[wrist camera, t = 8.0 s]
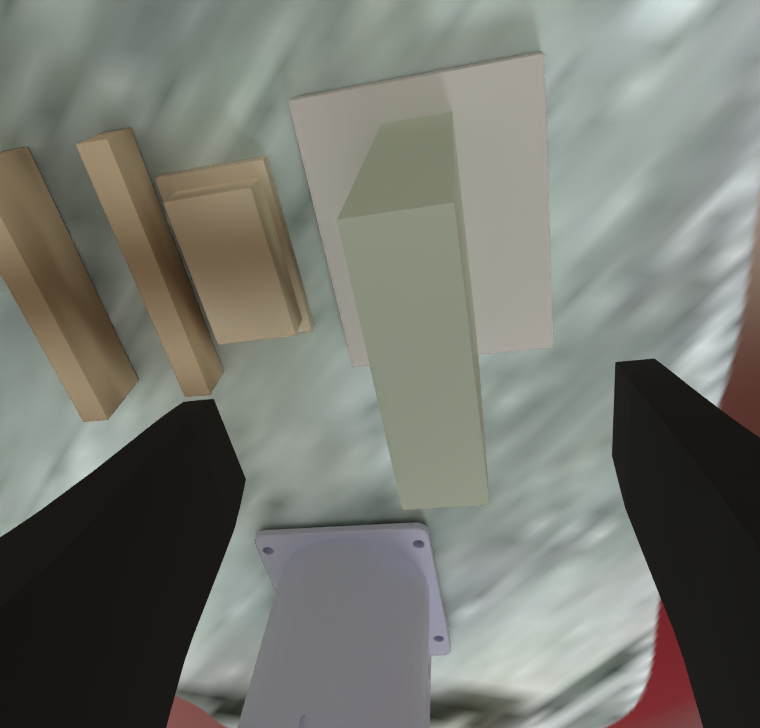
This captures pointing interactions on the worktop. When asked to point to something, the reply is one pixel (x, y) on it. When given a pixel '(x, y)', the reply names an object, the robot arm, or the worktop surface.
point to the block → (419, 310)
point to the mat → (477, 179)
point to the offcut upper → (235, 260)
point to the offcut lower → (261, 168)
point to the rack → (75, 289)
